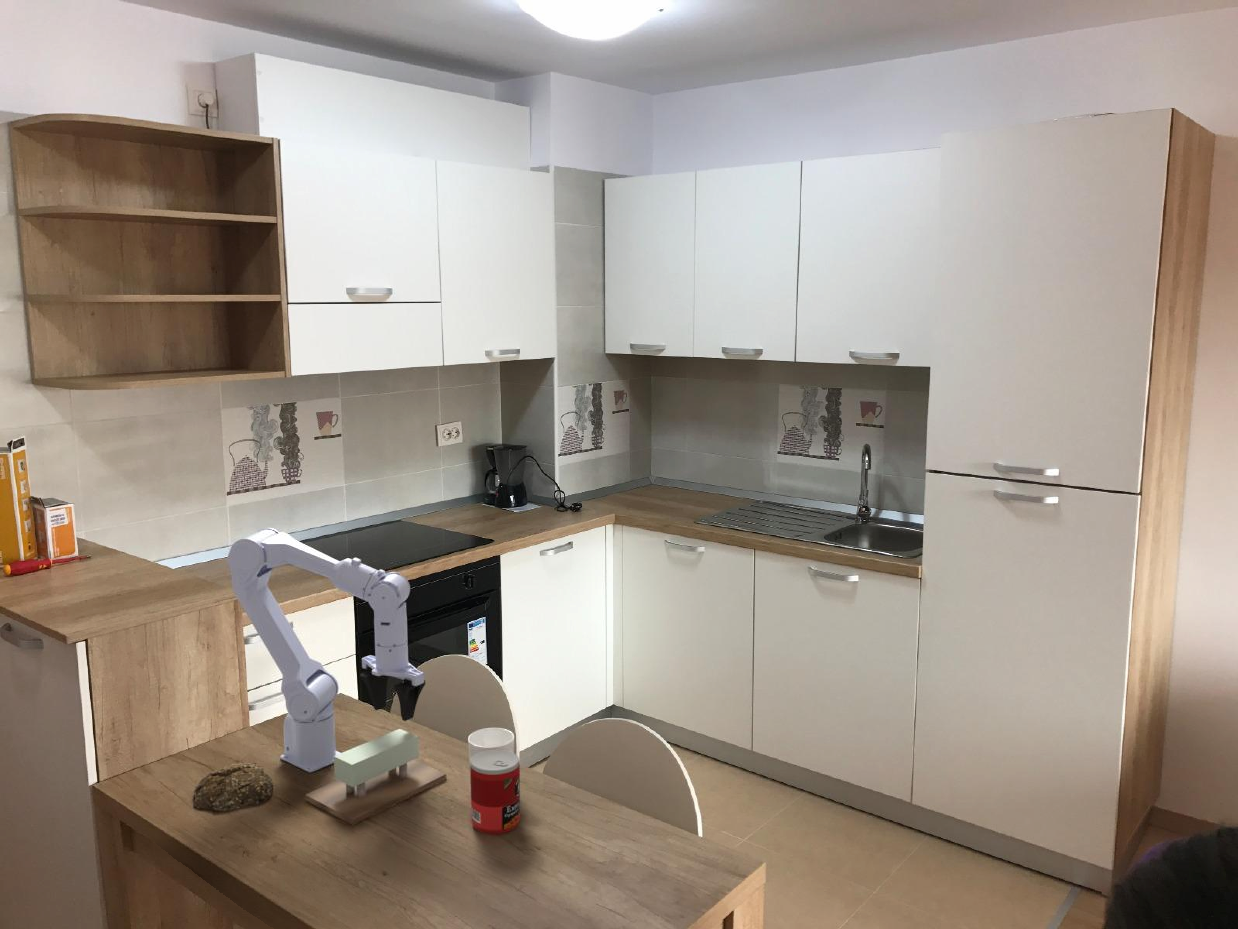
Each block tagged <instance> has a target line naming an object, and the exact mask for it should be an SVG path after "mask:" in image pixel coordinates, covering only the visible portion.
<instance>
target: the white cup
mask: <svg viewBox="0 0 1238 929" xmlns="http://www.w3.org/2000/svg"><path fill="white" fill-rule="evenodd" d="M467 744H468V757H469V759H468V760H469V764H470V763H471V758H472V757H473V756H474V755H476V754H477V753H480V752H483V751H487V750H506V751H510V752H512V753H515V734H514V732H512V731H511V730H509V729H506V728H502V727H487V728H485V727H484V728H481V729H477V730H475V731H473V732H472V733H470V734H469V735H468V738H467Z"/></svg>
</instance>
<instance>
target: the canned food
mask: <svg viewBox="0 0 1238 929" xmlns="http://www.w3.org/2000/svg"><path fill="white" fill-rule="evenodd" d="M520 770H521V767H520V757H519V756H518V755H517V754H516V753H515V752H514V753H512V752H510V751H506V750H487V751H483V752H480V753H477V754H476V755H474V756H473V757H472V758H471V763H470V762H469V772H470V773H469V774H470V805H471V806H470V812H471V817H470V818H471V822H472V826H473V828H474V829H476V830H477V831H478V832H481V833H483V834H487V835H501V834H506V833H509V832H512V831H514V830H515V829H516V828H517V827H518V825H519V823H520V818H521V780H520V778H521V777H520V776H521V775H520V774H521V772H520Z"/></svg>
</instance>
